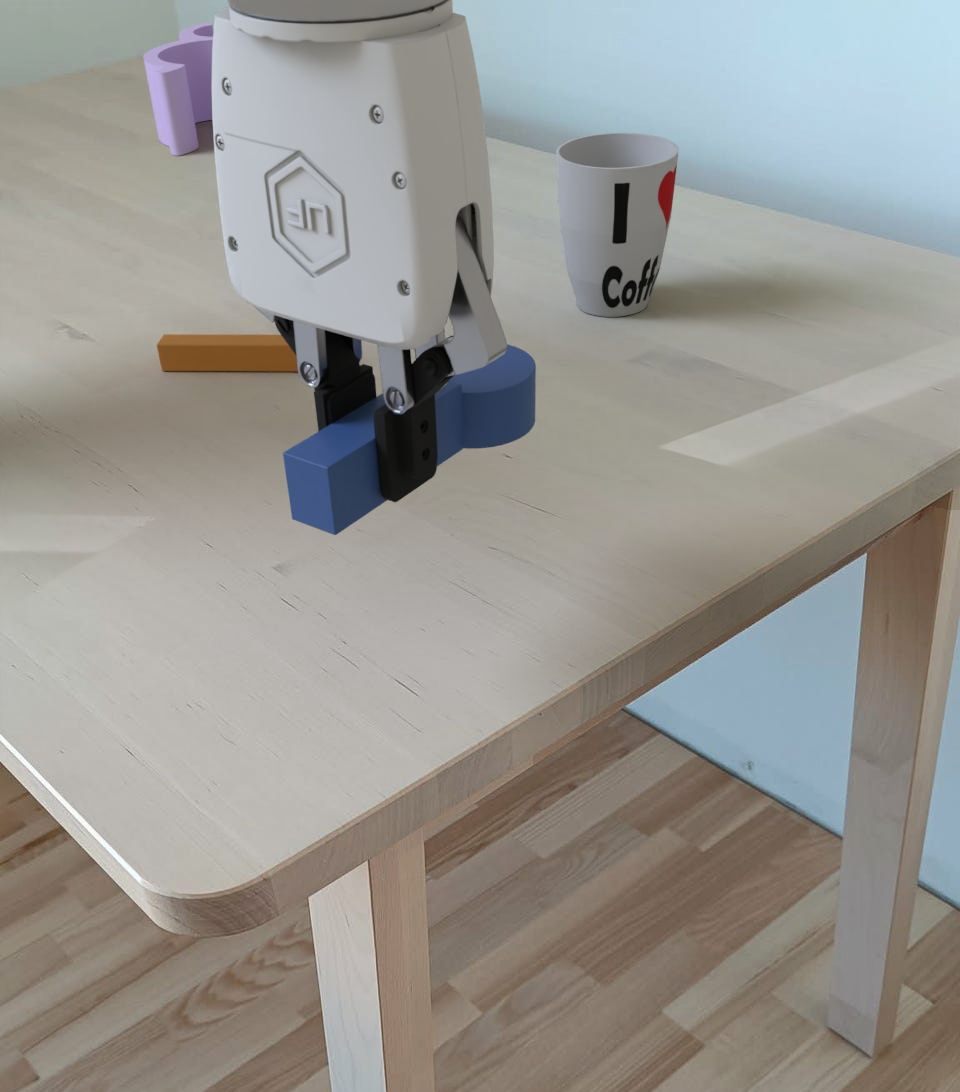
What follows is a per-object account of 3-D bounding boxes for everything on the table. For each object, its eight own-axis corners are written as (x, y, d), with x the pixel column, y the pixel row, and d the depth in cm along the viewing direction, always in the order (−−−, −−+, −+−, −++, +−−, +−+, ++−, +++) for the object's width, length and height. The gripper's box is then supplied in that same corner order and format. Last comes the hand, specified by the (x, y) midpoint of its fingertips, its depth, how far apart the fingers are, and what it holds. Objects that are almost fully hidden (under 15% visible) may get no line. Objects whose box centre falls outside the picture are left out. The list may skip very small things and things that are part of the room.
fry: (161, 371, 86) (156, 344, 84) (168, 360, 87) (163, 333, 86) (307, 372, 85) (303, 345, 84) (312, 360, 86) (308, 334, 85)
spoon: (366, 547, 51) (359, 478, 49) (263, 509, 54) (252, 442, 52) (558, 412, 59) (559, 348, 57) (461, 384, 62) (459, 322, 60)
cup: (601, 335, 87) (605, 176, 80) (533, 300, 92) (532, 148, 85) (692, 306, 90) (704, 151, 83) (621, 273, 95) (627, 125, 88)
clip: (178, 100, 136) (164, 24, 131) (294, 95, 136) (285, 19, 131) (147, 157, 122) (130, 74, 117) (276, 151, 121) (265, 67, 117)
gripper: (86, -38, 43) (185, 464, 56) (469, 15, 36) (482, 573, 49) (238, -73, 48) (298, 400, 60) (605, -32, 41) (585, 492, 54)
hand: (380, 474), depth 55 cm, fingers closed on spoon, 2 cm apart
